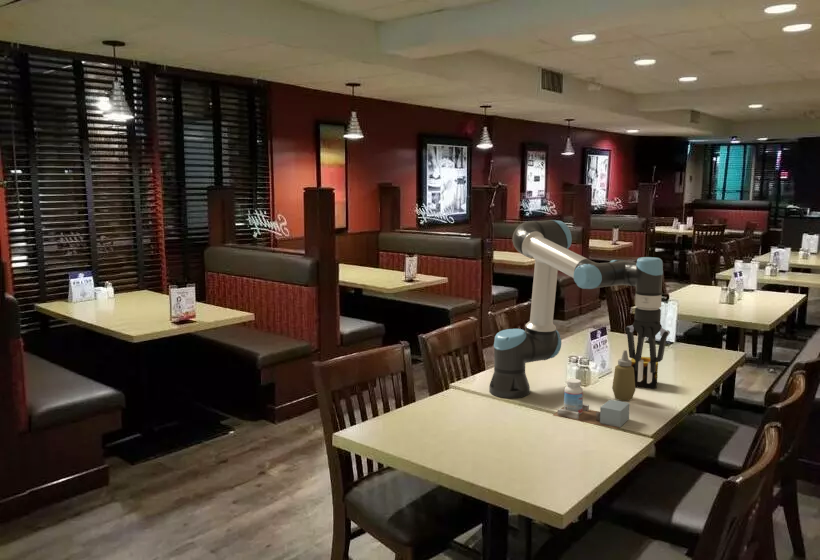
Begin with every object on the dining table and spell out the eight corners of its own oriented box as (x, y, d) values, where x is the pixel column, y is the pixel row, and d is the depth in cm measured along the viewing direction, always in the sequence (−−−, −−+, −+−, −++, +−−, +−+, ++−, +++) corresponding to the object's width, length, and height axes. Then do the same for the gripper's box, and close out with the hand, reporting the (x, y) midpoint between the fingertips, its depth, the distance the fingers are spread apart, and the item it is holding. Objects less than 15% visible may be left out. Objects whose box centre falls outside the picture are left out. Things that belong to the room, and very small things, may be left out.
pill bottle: (582, 416, 216) (583, 383, 214) (564, 415, 217) (564, 382, 215) (581, 410, 222) (582, 378, 220) (563, 409, 223) (564, 377, 221)
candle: (628, 386, 251) (629, 361, 249) (630, 379, 260) (631, 355, 259) (656, 389, 247) (657, 364, 246) (657, 382, 256) (658, 357, 255)
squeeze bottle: (636, 396, 239) (638, 349, 237) (633, 403, 232) (635, 354, 229) (613, 393, 243) (615, 347, 240) (610, 400, 235) (612, 352, 233)
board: (552, 419, 218) (552, 407, 217) (565, 409, 227) (566, 398, 227) (617, 433, 205) (618, 421, 204) (629, 421, 215) (629, 410, 214)
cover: (599, 423, 209) (600, 407, 209) (609, 414, 217) (609, 399, 216) (620, 427, 206) (620, 411, 205) (628, 418, 213) (629, 402, 212)
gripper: (619, 307, 202) (616, 380, 205) (670, 312, 193) (666, 388, 196) (626, 303, 208) (624, 374, 211) (677, 308, 199) (673, 382, 202)
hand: (644, 381), depth 204 cm, fingers open, 2 cm apart
